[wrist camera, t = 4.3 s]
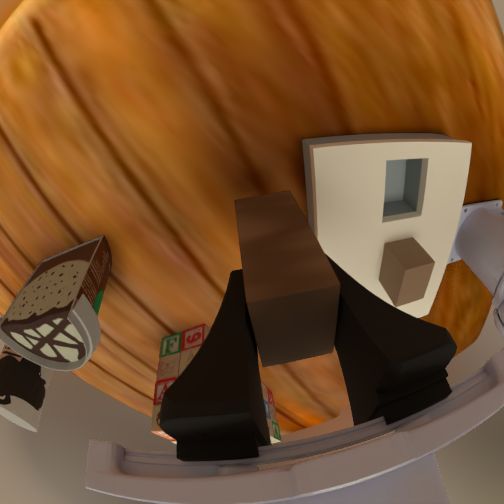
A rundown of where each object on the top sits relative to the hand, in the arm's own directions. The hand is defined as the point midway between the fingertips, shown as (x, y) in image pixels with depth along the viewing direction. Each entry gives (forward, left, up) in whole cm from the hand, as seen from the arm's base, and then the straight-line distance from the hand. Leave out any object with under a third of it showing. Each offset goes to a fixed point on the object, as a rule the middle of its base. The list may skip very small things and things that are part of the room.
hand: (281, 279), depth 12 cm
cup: (+28, +10, -11) cm, 31 cm away
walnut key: (0, 0, -4) cm, 4 cm away
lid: (-11, +7, -7) cm, 15 cm away
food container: (+18, +5, -11) cm, 21 cm away
